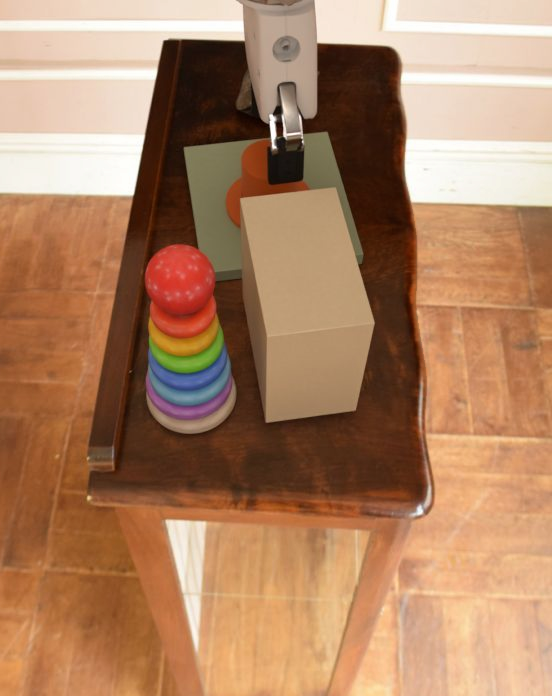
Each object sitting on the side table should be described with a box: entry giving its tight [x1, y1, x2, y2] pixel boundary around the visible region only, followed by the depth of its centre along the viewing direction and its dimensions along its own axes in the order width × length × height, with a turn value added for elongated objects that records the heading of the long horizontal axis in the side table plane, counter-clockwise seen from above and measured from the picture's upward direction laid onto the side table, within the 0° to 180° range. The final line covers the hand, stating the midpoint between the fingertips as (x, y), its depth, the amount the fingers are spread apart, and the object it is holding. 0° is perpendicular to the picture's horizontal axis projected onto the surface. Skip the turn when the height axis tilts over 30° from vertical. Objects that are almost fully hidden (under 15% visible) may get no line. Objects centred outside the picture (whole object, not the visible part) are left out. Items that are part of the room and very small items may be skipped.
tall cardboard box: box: [240, 187, 376, 424], centre depth 66 cm, size 8×14×14 cm, turn 9°
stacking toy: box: [144, 243, 238, 435], centre depth 62 cm, size 8×8×19 cm
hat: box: [226, 139, 310, 229], centre depth 77 cm, size 9×9×6 cm
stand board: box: [183, 131, 364, 282], centre depth 81 cm, size 16×18×2 cm
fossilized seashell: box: [234, 67, 321, 119], centre depth 88 cm, size 8×7×10 cm
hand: (276, 145), depth 73 cm, fingers open, 9 cm apart
